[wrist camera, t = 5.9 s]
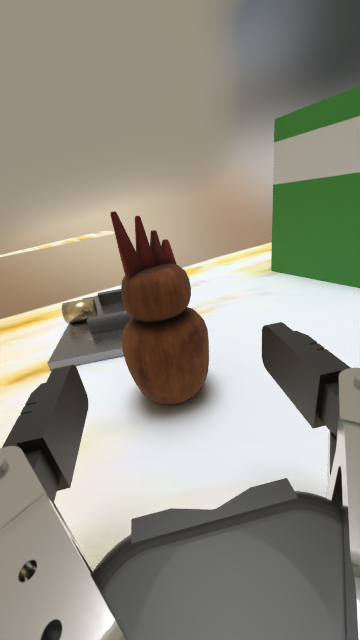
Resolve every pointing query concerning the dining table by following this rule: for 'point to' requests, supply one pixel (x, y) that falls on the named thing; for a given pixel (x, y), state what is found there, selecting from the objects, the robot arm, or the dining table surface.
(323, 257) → the hardback book
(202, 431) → the dining table surface
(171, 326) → the wooden figurine
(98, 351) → the metal mounting plate
